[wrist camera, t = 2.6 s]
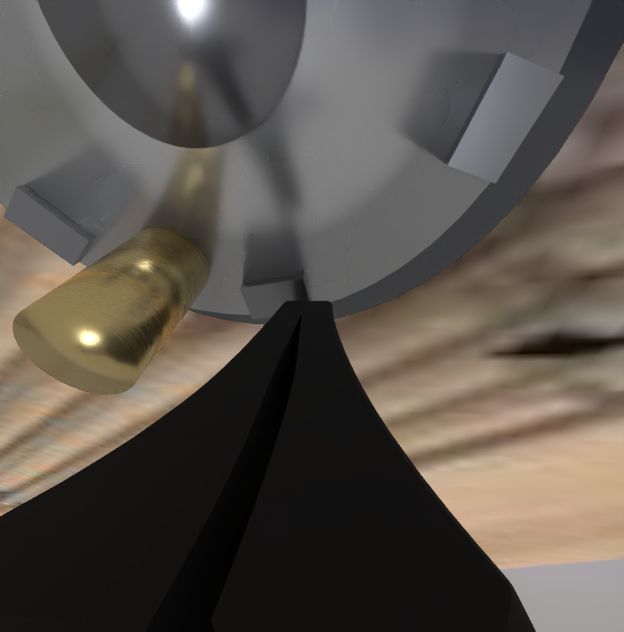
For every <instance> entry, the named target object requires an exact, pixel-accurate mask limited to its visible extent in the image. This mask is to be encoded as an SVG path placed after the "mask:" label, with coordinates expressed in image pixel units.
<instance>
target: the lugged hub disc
mask: <svg viewBox="0 0 624 632" xmlns="http://www.w3.org/2000/svg"><path fill="white" fill-rule="evenodd" d="M591 1H592V0H0V203H1V204H2V205H4V206H5V207H6V208H7V210H6V213H5V215H4V217H5V218H6V219H8V220H9V221H11V222H12V223H14V224H15V225H16V226H18V227H19V228H21V229H22V230H23V231H25V232H26V233H28V234H29V235H30V236H32V237H33V238H35V239H36V240H37V241H39V242H40V243H42V244H43V245H44V246H46V247H47V248H49V249H50V250H52V251H53V252H54V253H56V254H57V255H59V256H60V257H61V258H63V259H64V260H66V261H67V262H68V263H70V264H71V265H73V266H74V265H75V264H77V263H78V262H80V263H82V264H84V265H86V266H88V267H86V268H85V269H83V270H82V271H80V272H79V273H77V274H76V275H74V276H73V277H71V278H70V279H68V280H67V281H66V282H64V283H63V284H61V285H60V286H58V287H57V288H55V289H54V290H52V291H51V292H49V293H48V294H46V295H45V296H43V297H42V298H40V299H39V300H37V301H36V302H34V303H33V304H31V305H30V306H28V307H27V308H25V309H24V310H22V311H21V312H20V313H18V315H17V316H16V317H15V319H14V322H13V333H14V337H15V339H16V341H17V343H18V345H19V347H20V348H21V350H22V351H23V352H24V354H25V355H26V356H27V357H28V358H29V359H30V360H31V361H32V362H33V363H34V364H35V365H36V366H37V367H39V368H40V369H41V370H43V371H44V372H45V373H47V374H48V375H50V376H52V377H53V378H55V379H57V380H59V381H60V382H62V383H64V384H67V385H69V386H71V387H74V388H77V389H79V390H83V391H86V392H91V393H96V394H118V393H122V392H124V391H127V390H128V389H130V388H131V387H132V386H133V385H134V384H135V383H136V381H137V380H138V378H139V377H140V376H141V374H142V373H143V372H144V370H145V369H146V368H147V366H148V365H149V363H150V362H151V361H152V359H153V358H154V357H155V355H156V354H157V353H158V351H159V350H160V348H161V347H162V346H163V344H164V343H165V342H166V340H167V339H168V338H169V336H170V335H171V333H172V332H173V331H174V329H175V328H176V327H177V325H178V324H179V322H180V321H181V320H182V318H183V317H184V316H185V314H186V313H187V312H188V310H189V309H190V308H193V309H197V310H202V311H209V312H216V313H223V314H240V315H251V317H252V319H253V320H254V319H262V318H270V317H272V316H273V315H274V313H275V312H276V311H277V310H278V309H279V308H280V306H281V305H282V304H283V303H284V302H285V301H329V302H332V301H335V300H338V299H342V298H344V297H346V296H348V295H351V294H353V293H355V292H357V291H360V290H362V289H364V288H366V287H368V286H371V285H372V284H374V283H376V282H377V281H379V280H381V279H383V278H384V277H386V276H388V275H389V274H391V273H393V272H394V271H396V270H398V269H399V268H401V267H402V266H404V265H405V264H406V263H408V262H409V261H410V260H412V259H413V258H414V257H416V256H417V255H418V254H420V253H421V252H422V251H423V250H425V249H426V248H427V247H429V246H430V245H431V244H432V243H433V242H434V241H435V240H437V239H438V238H439V237H440V236H441V235H442V234H443V233H444V232H445V231H446V230H447V229H448V228H449V227H450V226H451V225H452V224H454V223H455V222H456V221H457V220H458V219H459V218H460V217H461V216H462V215H463V214H464V212H465V211H466V210H467V209H468V208H469V207H470V206H471V204H472V203H473V202H474V201H475V200H476V199H477V197H478V196H479V195H480V194H481V193H482V192H483V190H484V189H485V188H486V187H487V186H488V185H489V184H490V182H493V183H495V184H496V182H497V180H498V179H499V177H500V176H501V174H502V173H503V171H504V170H505V168H506V166H507V165H508V163H509V162H510V160H511V159H512V157H513V156H514V154H515V152H516V151H517V149H518V148H519V146H520V145H521V143H522V141H523V140H524V138H525V137H526V135H527V134H528V132H529V131H530V129H531V127H532V126H533V124H534V123H535V121H536V120H537V118H538V117H539V115H540V113H541V112H542V110H543V109H544V107H545V106H546V104H547V103H548V101H549V99H550V98H551V96H552V95H553V93H554V92H555V90H556V89H557V87H558V85H559V84H560V82H561V81H562V79H563V78H564V76H563V75H561V74H559V72H560V70H561V68H562V66H563V64H564V61H565V59H566V57H567V55H568V53H569V51H570V48H571V46H572V44H573V42H574V40H575V38H576V35H577V33H578V31H579V29H580V27H581V25H582V22H583V20H584V18H585V16H586V14H587V12H588V9H589V7H590V4H591Z"/></svg>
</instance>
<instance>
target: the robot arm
mask: <svg viewBox="0 0 624 632" xmlns="http://www.w3.org/2000/svg"><path fill="white" fill-rule="evenodd" d="M0 632H536V631H535V629H534V627H533V625H532V623H531V621H530V619H529V617H528V615H527V613H526V611H525V609H524V607H523V605H522V603H521V601H520V599H519V597H518V595H517V593H516V591H515V589H514V588H513V586H512V584H511V583H510V582H509V580H508V579H507V578H506V577H505V576H504V574H503V573H502V572H501V571H500V570H499V568H498V567H497V566H496V565H495V564H494V563H493V562H492V560H491V559H490V558H489V557H488V556H487V555H486V554H485V552H484V551H483V550H482V549H481V548H480V547H479V545H478V544H477V543H476V542H475V541H474V540H473V538H472V537H471V536H470V535H469V534H468V532H467V531H466V530H465V529H464V528H463V527H462V525H461V524H460V523H459V522H458V521H457V519H456V518H455V517H454V516H453V515H452V513H451V512H450V511H449V510H448V509H447V507H446V506H445V505H444V503H443V502H442V501H441V500H440V498H439V497H438V496H437V495H436V493H435V492H434V491H433V490H432V488H431V487H430V486H429V485H428V483H427V482H426V481H425V479H424V478H423V477H422V476H421V474H420V473H419V472H418V470H417V469H416V467H415V466H414V465H413V463H412V462H411V461H410V459H409V458H408V456H407V455H406V454H405V452H404V451H403V449H402V448H401V447H400V445H399V444H398V443H397V441H396V440H395V438H394V437H393V436H392V434H391V433H390V431H389V430H388V428H387V427H386V425H385V424H384V422H383V421H382V419H381V417H380V416H379V414H378V413H377V411H376V410H375V408H374V406H373V405H372V403H371V401H370V400H369V398H368V396H367V395H366V393H365V391H364V389H363V387H362V386H361V384H360V382H359V380H358V378H357V376H356V374H355V372H354V370H353V368H352V366H351V364H350V362H349V360H348V357H347V355H346V353H345V350H344V348H343V345H342V343H341V340H340V338H339V335H338V332H337V329H336V325H335V322H334V317H333V304H332V303H331V302H329V301H285V302H284V303H283V304H282V305H281V306H280V308H279V309H278V310H277V311H276V312H275V313H274V315H273V316H272V317H271V318H270V319H269V320H268V322H267V323H266V324H265V325H264V326H263V327H262V329H261V330H260V331H259V332H258V333H257V334H256V335H255V336H254V337H253V338H252V339H251V340H250V342H249V343H248V344H247V345H246V346H245V347H244V348H243V349H242V350H241V351H240V352H239V353H238V354H237V355H236V356H235V357H234V358H233V359H232V360H231V361H230V362H229V363H228V364H227V365H226V366H225V367H224V368H222V369H221V370H220V371H219V372H218V373H217V374H216V375H215V376H214V377H213V378H211V379H210V380H209V381H208V382H207V383H206V384H205V385H203V386H202V387H201V388H200V389H199V390H197V391H196V392H195V393H194V394H192V395H191V396H190V397H189V398H187V399H186V400H185V401H184V402H182V403H181V404H180V405H178V406H177V407H176V408H174V409H173V410H171V411H170V412H169V413H167V414H166V415H164V416H163V417H162V418H160V419H159V420H157V421H156V422H155V423H153V424H152V425H150V426H149V427H148V428H146V429H145V430H143V431H142V432H141V433H139V434H138V435H136V436H135V437H133V438H132V439H130V440H129V441H127V442H126V443H124V444H123V445H121V446H119V447H118V448H116V449H115V450H113V451H112V452H110V453H109V454H107V455H105V456H104V457H102V458H101V459H99V460H97V461H96V462H94V463H92V464H91V465H89V466H88V467H86V468H84V469H83V470H81V471H79V472H78V473H76V474H74V475H73V476H71V477H69V478H68V479H66V480H64V481H62V482H61V483H59V484H57V485H56V486H54V487H52V488H50V489H48V490H47V491H45V492H43V493H41V494H39V495H38V496H36V497H34V498H32V499H30V500H29V501H27V502H25V503H23V504H21V505H20V506H18V507H16V508H14V509H13V510H11V511H9V512H7V513H5V514H4V515H2V516H0Z"/></svg>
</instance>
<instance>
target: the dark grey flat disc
mask: <svg viewBox="0 0 624 632" xmlns="http://www.w3.org/2000/svg"><path fill="white" fill-rule="evenodd" d="M623 42H624V0H592V1H591V4H590V7H589V9H588V12H587V14H586V16H585V18H584V20H583V22H582V25H581V27H580V29H579V31H578V33H577V35H576V38H575V40H574V42H573V44H572V46H571V48H570V51H569V53H568V55H567V57H566V59H565V61H564V64H563V66H562V68H561V70H560V72H559V74H561V75H563V76H564V78H563V79H562V81H561V82H560V84H559V85H558V87H557V89H556V90H555V92H554V93H553V95H552V96H551V98H550V99H549V101H548V103H547V104H546V106H545V107H544V109H543V110H542V112H541V113H540V115H539V117H538V118H537V120H536V121H535V123H534V124H533V126H532V127H531V129H530V131H529V132H528V134H527V135H526V137H525V138H524V140H523V141H522V143H521V145H520V146H519V148H518V149H517V151H516V152H515V154H514V156H513V157H512V159H511V160H510V162H509V163H508V165H507V166H506V168H505V170H504V171H503V173H502V174H501V176H500V177H499V179H498V180H497V182H496V184H495V183H493V182H490V184H489V185H488V186H487V187H486V188H485V189H484V190H483V192H482V193H481V194H480V195H479V196H478V197H477V199H476V200H475V201H474V202H473V203H472V204H471V206H470V207H469V208H468V209H467V210H466V211H465V212H464V214H463V215H462V216H461V217H460V218H459V219H458V220H457V221H456V222H455V223H454V224H452V225H451V226H450V227H449V228H448V229H447V230H446V231H445V232H444V233H443V234H442V235H441V236H440V237H439V238H438V239H437V240H435V241H434V242H433V243H432V244H431V245H430V246H429V247H427V248H426V249H425V250H423V251H422V252H421V253H420V254H418V255H417V256H416V257H414V258H413V259H412V260H410V261H409V262H408V263H406V264H405V265H404V266H402V267H401V268H399V269H398V270H396V271H394V272H393V273H391V274H389V275H388V276H386V277H384V278H383V279H381V280H379V281H377V282H376V283H374V284H372V285H371V286H368V287H366V288H364V289H362V290H360V291H357V292H355V293H353V294H351V295H348V296H346V297H344V298H342V299H338V300H335V301H332V302H331V303H332V304H333V317H334V318H339V317H343V316H346V315H350V314H353V313H356V312H360V311H363V310H367V309H369V308H372V307H374V306H377V305H379V304H381V303H384V302H386V301H389V300H391V299H393V298H396V297H398V296H400V295H402V294H403V293H405V292H407V291H409V290H411V289H413V288H414V287H416V286H418V285H420V284H422V283H423V282H425V281H427V280H429V279H430V278H432V277H433V276H434V275H436V274H437V273H439V272H440V271H442V270H443V269H444V268H446V267H447V266H449V265H450V264H452V263H453V262H455V261H456V260H457V259H459V258H460V257H461V256H462V255H463V254H465V253H466V252H467V251H468V250H469V249H470V248H472V247H473V246H474V245H475V244H476V243H477V242H479V241H480V240H481V239H482V238H483V237H484V236H486V235H487V234H488V233H489V232H490V231H491V230H492V229H493V228H494V227H495V226H496V225H497V224H498V223H499V222H500V221H501V220H502V219H503V218H504V217H505V216H506V215H507V214H508V213H509V211H510V210H511V209H512V208H513V207H514V206H515V205H516V204H517V203H518V202H519V201H520V200H521V199H522V198H523V197H524V196H525V194H526V193H527V192H528V190H529V189H530V188H531V187H532V185H533V184H534V183H535V182H536V180H537V179H538V178H539V177H540V175H541V174H542V173H543V171H544V170H545V169H546V168H547V166H548V165H549V164H550V163H551V161H552V160H553V159H554V158H555V156H556V155H557V154H558V152H559V151H560V149H561V148H562V146H563V144H564V143H565V141H566V140H567V138H568V137H569V135H570V134H571V132H572V131H573V129H574V128H575V126H576V124H577V123H578V121H579V120H580V118H581V117H582V115H583V114H584V112H585V111H586V109H587V108H588V106H589V105H590V103H591V101H592V100H593V98H594V96H595V94H596V92H597V90H598V88H599V86H600V85H601V83H602V81H603V79H604V77H605V75H606V73H607V72H608V70H609V68H610V66H611V64H612V62H613V60H614V58H615V57H616V55H617V53H618V51H619V49H620V47H621V45H622V43H623ZM189 310H190V311H193V312H196V313H200V314H204V315H208V316H212V317H216V318H220V319H224V320H231V321H238V322H245V323H252V324H266V323H267V322H268V320H269V319H270V318H271V317H270V318H262V319H254V320H253V319H252V317H251V315H240V314H223V313H216V312H209V311H202V310H197V309H193V308H190V309H189Z"/></svg>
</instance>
